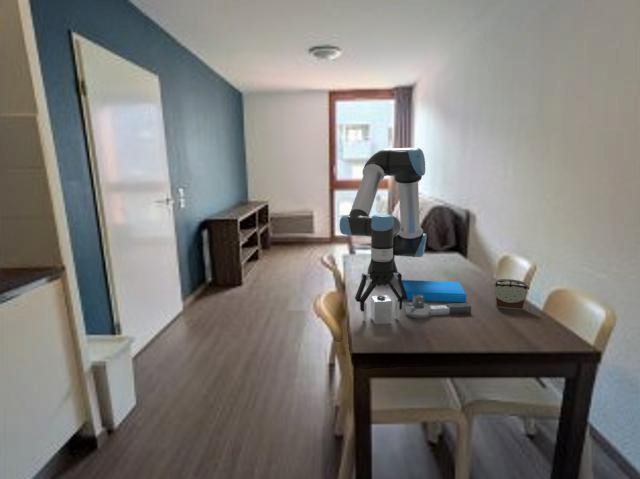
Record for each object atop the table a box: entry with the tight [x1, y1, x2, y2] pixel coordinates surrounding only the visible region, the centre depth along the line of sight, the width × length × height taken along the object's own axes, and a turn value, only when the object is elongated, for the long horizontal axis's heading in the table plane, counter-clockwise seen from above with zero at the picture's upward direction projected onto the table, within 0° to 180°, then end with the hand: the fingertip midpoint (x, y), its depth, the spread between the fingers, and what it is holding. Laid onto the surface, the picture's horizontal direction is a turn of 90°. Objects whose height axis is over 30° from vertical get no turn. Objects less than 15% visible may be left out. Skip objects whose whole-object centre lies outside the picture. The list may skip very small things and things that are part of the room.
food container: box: [493, 278, 530, 311], centre depth 149 cm, size 12×6×10 cm, turn 71°
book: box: [402, 279, 467, 303], centre depth 163 cm, size 17×4×25 cm
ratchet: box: [405, 295, 472, 320], centre depth 142 cm, size 9×24×7 cm, turn 95°
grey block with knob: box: [370, 294, 393, 325], centre depth 136 cm, size 6×6×9 cm
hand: (380, 318), depth 137 cm, fingers open, 11 cm apart
